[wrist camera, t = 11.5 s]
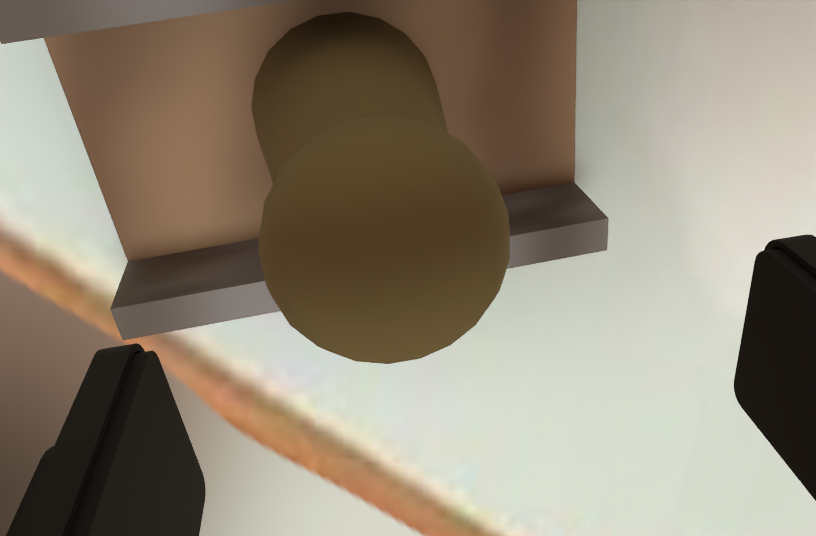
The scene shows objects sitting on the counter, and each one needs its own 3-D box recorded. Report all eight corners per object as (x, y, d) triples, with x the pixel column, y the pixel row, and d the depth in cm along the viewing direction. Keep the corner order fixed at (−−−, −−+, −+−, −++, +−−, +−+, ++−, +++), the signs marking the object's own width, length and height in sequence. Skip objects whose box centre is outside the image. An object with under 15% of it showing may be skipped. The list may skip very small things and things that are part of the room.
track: (566, -115, 21) (623, -112, 18) (564, 207, 27) (606, 257, 23) (26, -41, 20) (-26, -21, 16) (146, 282, 25) (125, 347, 22)
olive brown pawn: (324, 227, 24) (355, 453, 15) (210, 86, 21) (158, 258, 12) (470, 131, 23) (601, 308, 14) (372, -30, 20) (455, 58, 11)
